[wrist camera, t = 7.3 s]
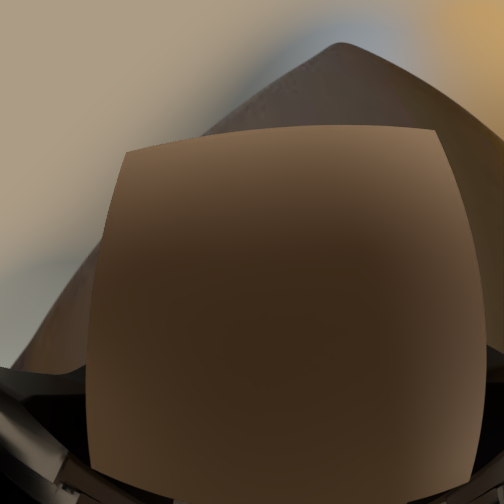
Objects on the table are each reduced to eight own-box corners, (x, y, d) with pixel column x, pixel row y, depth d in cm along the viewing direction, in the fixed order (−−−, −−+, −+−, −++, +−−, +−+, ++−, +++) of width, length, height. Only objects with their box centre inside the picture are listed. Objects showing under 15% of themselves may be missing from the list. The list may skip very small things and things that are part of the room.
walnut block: (342, 384, 14) (469, 482, 2) (253, 385, 14) (91, 468, 2) (341, 297, 15) (434, 130, 3) (255, 299, 16) (125, 152, 4)
